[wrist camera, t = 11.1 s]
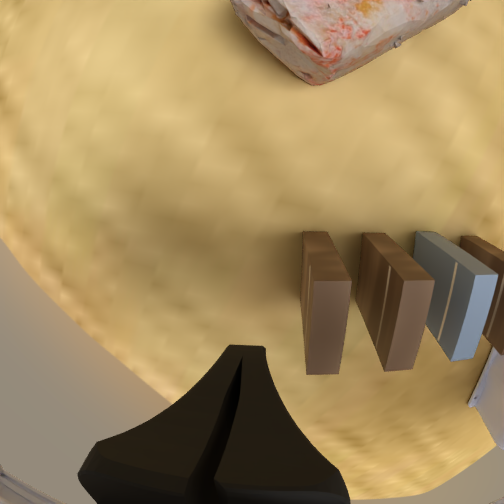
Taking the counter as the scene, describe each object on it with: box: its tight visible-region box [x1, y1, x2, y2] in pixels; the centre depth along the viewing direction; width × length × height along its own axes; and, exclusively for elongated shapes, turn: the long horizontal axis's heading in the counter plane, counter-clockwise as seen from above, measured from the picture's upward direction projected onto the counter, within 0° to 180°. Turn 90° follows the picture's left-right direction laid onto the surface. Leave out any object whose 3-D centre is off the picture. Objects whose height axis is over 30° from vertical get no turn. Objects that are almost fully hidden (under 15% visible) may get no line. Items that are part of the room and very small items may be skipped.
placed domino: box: [413, 231, 498, 362], centre depth 16 cm, size 2×5×8 cm, turn 1°
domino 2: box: [356, 233, 435, 372], centre depth 17 cm, size 2×5×8 cm, turn 1°
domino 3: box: [460, 236, 504, 356], centre depth 16 cm, size 2×5×8 cm, turn 1°
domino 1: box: [300, 231, 352, 375], centre depth 17 cm, size 2×5×8 cm, turn 1°
